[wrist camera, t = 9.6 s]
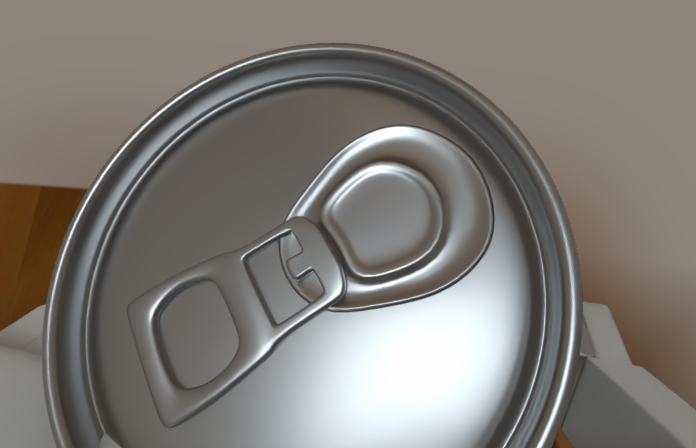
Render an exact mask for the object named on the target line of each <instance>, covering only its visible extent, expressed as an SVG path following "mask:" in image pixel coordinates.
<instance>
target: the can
mask: <svg viewBox="0 0 696 448" xmlns="http://www.w3.org/2000/svg"><path fill="white" fill-rule="evenodd" d="M582 327H583V293H582V281H581V271H580V264H579V258H578V253H577V249H576V243H575V239H574V236H573V231H572V228H571V224H570V221H569V218H568V215H567V212H566V209H565V207H564V204H563V202H562V199H561V197H560V194H559V192H558V190H557V188H556V186H555V184H554V182H553V180H552V178H551V176H550V174H549V172H548V170H547V169H546V167H545V165H544V163H543V161H542V160H541V158H540V157H539V155H538V154H537V152H536V151H535V149H534V148H533V147H532V145H531V144H530V142H529V141H528V140H527V138H526V137H525V136H524V135H523V133H522V132H521V131H520V130H519V128H518V127H517V126H516V125H515V124H514V123H513V122H512V121H511V120H510V118H509V117H508V116H507V115H506V114H505V113H504V112H503V111H502V110H500V108H498V107H497V106H496V105H495V104H494V103H493V102H492V101H491V100H489V99H488V98H487V97H486V96H484V95H483V94H482V93H481V92H479V91H478V90H477V89H475V88H474V87H473V86H471V85H469V84H468V83H467V82H465V81H463V80H462V79H460V78H459V77H457V76H455V75H454V74H452V73H450V72H448V71H446V70H444V69H442V68H440V67H438V66H436V65H434V64H432V63H430V62H427V61H425V60H422V59H420V58H417V57H414V56H411V55H408V54H404V53H401V52H398V51H394V50H390V49H385V48H380V47H375V46H368V45H361V44H350V43H317V44H305V45H297V46H291V47H285V48H280V49H276V50H272V51H267V52H264V53H260V54H257V55H254V56H251V57H248V58H245V59H242V60H239V61H237V62H234V63H232V64H229V65H227V66H225V67H223V68H220V69H219V70H216V71H214V72H212V73H210V74H209V75H207V76H205V77H203V78H201V79H200V80H198V81H196V82H194V83H193V84H191V85H189V86H188V87H186V88H185V89H183V90H182V91H181V92H179V93H177V94H176V95H174V96H173V97H172V98H170V99H169V100H168V101H167V102H165V103H164V104H163V105H161V106H160V107H159V108H158V109H156V110H155V111H154V112H153V113H152V114H151V115H149V116H148V117H147V118H146V119H145V120H144V121H143V122H142V123H141V124H140V125H139V126H138V127H137V128H136V129H135V130H134V131H133V132H132V133H131V134H130V135H129V136H128V137H127V138H126V139H125V140H124V142H123V143H122V144H121V145H120V146H119V147H118V148H117V150H116V151H115V152H114V153H113V154H112V156H111V157H110V158H109V160H108V161H107V162H106V164H105V165H104V166H103V168H102V169H101V170H100V172H99V173H98V175H97V177H96V178H95V179H94V181H93V182H92V184H91V186H90V187H89V189H88V190H87V192H86V194H85V196H84V197H83V199H82V201H81V203H80V205H79V207H78V209H77V210H76V212H75V215H74V217H73V219H72V221H71V223H70V225H69V228H68V230H67V232H66V235H65V237H64V240H63V242H62V245H61V248H60V251H59V253H58V257H57V260H56V263H55V266H54V270H53V274H52V277H51V281H50V286H49V290H48V295H47V301H46V307H45V314H44V322H43V334H42V376H43V388H44V395H45V402H46V408H47V414H48V418H49V423H50V427H51V431H52V434H53V438H54V441H55V444H56V447H57V448H100V442H101V439H102V437H103V435H104V434H107V435H108V436H109V437H110V438H111V439H112V440H113V441H114V442H115V443H116V444H117V445H119V446H120V447H121V448H552V446H553V443H554V441H555V439H556V437H557V434H558V432H559V430H560V427H561V424H562V422H563V419H564V416H565V413H566V411H567V407H568V404H569V401H570V398H571V394H572V390H573V386H574V382H575V378H576V373H577V368H578V363H579V357H580V349H581V341H582Z"/></svg>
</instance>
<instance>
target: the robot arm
mask: <svg viewBox="0 0 696 448" xmlns="http://www.w3.org/2000/svg"><path fill="white" fill-rule="evenodd" d="M45 307H46V304H45V305H42V306H39V307H37V308H36V309H34V310H33V311H31V312H30V313H28V314H26V315H25V316H23V317H22V318H20V319H19V320H17V321H16V322H14V323H13V324H11V325H9V326H8V327H6V328H5V329H3V330H2V331H0V448H57V447H56V444H55V441H54V438H53V434H52V431H51V427H50V423H49V418H48V414H47V408H46V402H45V395H44V388H43V376H42V334H43V322H44V314H45ZM561 427H562V431H563V432H564V434H565V435H566V437H567V438H568V440H569V441H570V442H571V444H572V445H573V447H574V448H696V410H695V409H694V408H693V407H692V406H690V405H689V404H688V403H687V402H685V401H684V400H683V399H682V398H680V397H679V396H678V395H677V394H675V393H674V392H673V391H672V390H670V389H669V388H668V387H666V386H665V385H664V384H663V383H661V382H660V381H659V380H658V379H657V378H655V377H654V376H653V375H652V374H650V373H649V372H648V371H646V370H645V369H644V368H643V367H641V366H636V365H632V362H631V360H630V358H629V355H628V353H627V350H626V348H625V345H624V343H623V341H622V338H621V336H620V334H619V331H618V329H617V326H616V324H615V321H614V319H613V317H612V314H611V312H610V309H609V307H607V306H606V305H605V304H599V303H591V302H583V327H582V341H581V349H580V357H579V363H578V368H577V373H576V378H575V382H574V386H573V390H572V394H571V398H570V401H569V404H568V407H567V411H566V413H565V416H564V419H563V422H562V424H561ZM100 448H121V447H120V446H119V445H117V444H116V443H115V442H114V441H113V440H112V439H111V438H110V437H109V436H108V435H107V434H104V435H103V437H102V439H101V442H100Z"/></svg>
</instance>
